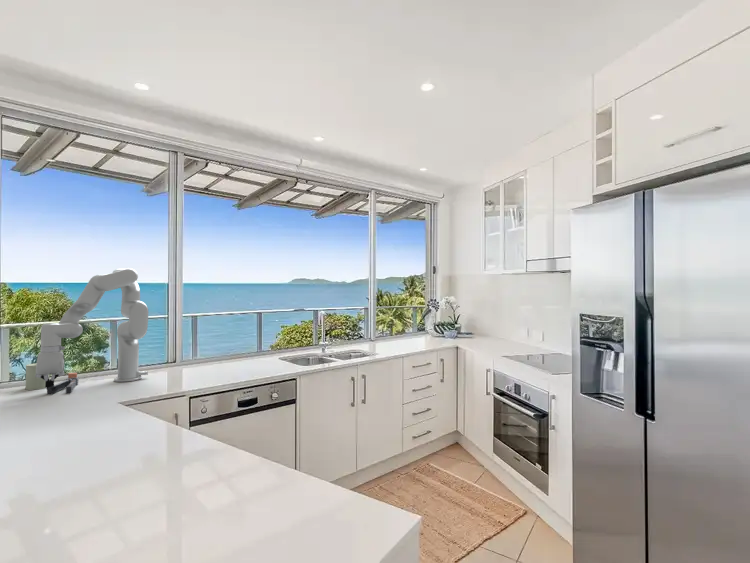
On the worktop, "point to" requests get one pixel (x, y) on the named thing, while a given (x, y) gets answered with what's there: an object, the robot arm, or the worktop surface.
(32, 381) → the can
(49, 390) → the bar
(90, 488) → the worktop surface
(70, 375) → the tab
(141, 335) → the robot arm
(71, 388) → the tongs fixed
